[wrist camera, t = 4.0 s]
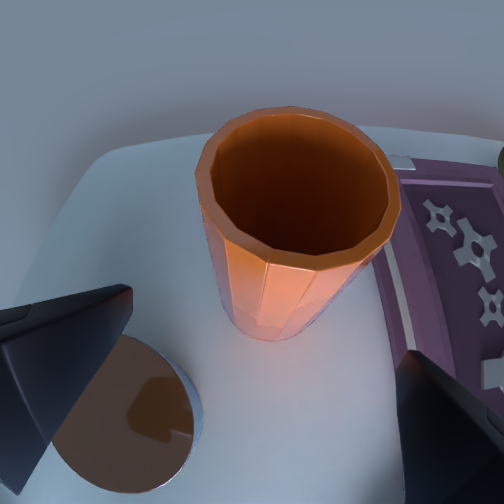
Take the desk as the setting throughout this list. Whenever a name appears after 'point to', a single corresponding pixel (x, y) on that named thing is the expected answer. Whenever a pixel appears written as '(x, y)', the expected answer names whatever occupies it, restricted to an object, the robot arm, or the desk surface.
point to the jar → (132, 421)
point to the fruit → (501, 163)
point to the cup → (292, 214)
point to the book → (448, 272)
